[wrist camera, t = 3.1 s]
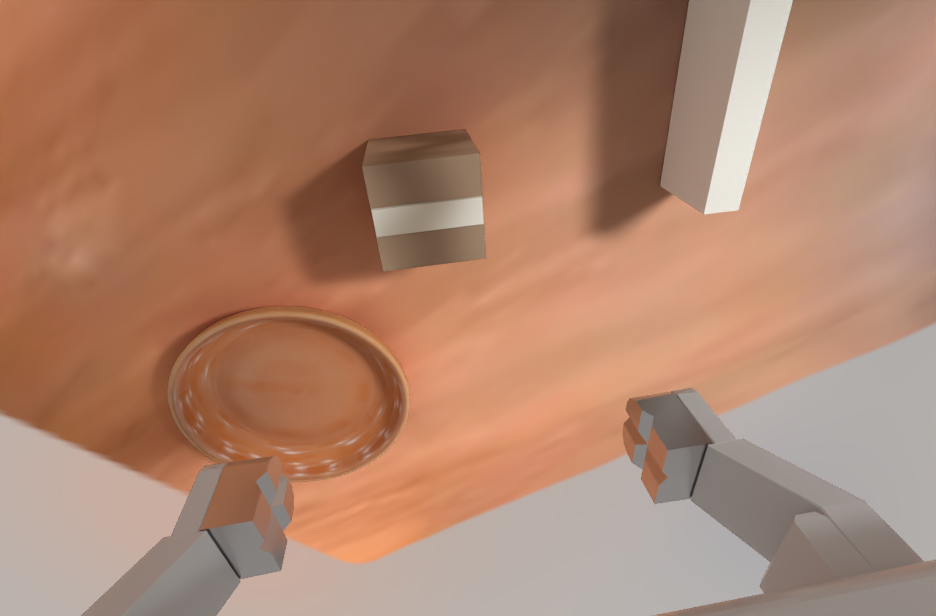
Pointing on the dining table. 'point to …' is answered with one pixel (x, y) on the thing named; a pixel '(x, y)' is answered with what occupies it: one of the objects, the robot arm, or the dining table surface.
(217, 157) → the dining table surface
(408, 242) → the cube
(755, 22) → the white l-shaped bracket
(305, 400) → the saucer
